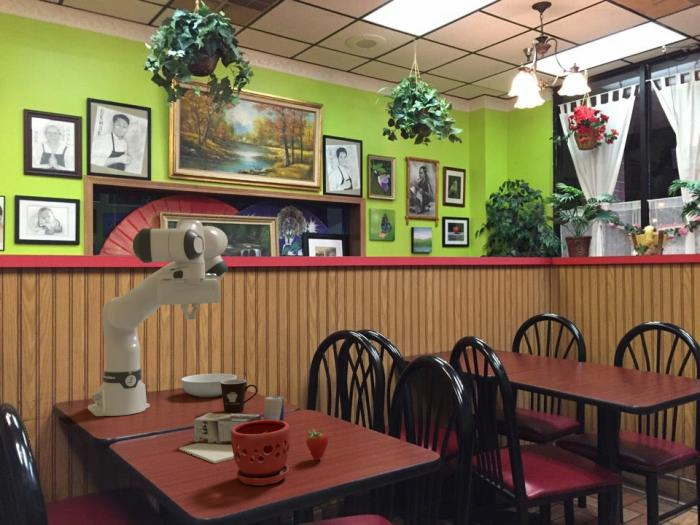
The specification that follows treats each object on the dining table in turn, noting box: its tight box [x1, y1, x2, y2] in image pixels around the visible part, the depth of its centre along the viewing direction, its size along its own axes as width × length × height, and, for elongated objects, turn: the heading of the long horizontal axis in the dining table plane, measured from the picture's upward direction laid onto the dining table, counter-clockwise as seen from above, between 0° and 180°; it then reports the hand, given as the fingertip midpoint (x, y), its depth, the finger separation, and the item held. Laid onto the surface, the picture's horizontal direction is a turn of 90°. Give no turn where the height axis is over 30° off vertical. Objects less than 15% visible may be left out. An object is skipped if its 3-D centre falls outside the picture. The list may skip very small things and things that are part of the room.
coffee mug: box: [221, 378, 258, 414], centre depth 202 cm, size 12×9×10 cm
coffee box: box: [193, 412, 262, 444], centre depth 165 cm, size 9×6×16 cm
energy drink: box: [263, 395, 285, 433], centre depth 166 cm, size 5×5×12 cm
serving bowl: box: [180, 373, 237, 398], centre depth 231 cm, size 21×21×7 cm
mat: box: [178, 442, 239, 464], centre depth 158 cm, size 17×14×1 cm
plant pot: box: [231, 419, 291, 487], centre depth 135 cm, size 13×13×12 cm
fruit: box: [305, 427, 329, 461], centre depth 149 cm, size 5×5×8 cm
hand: (190, 319), depth 181 cm, fingers closed
